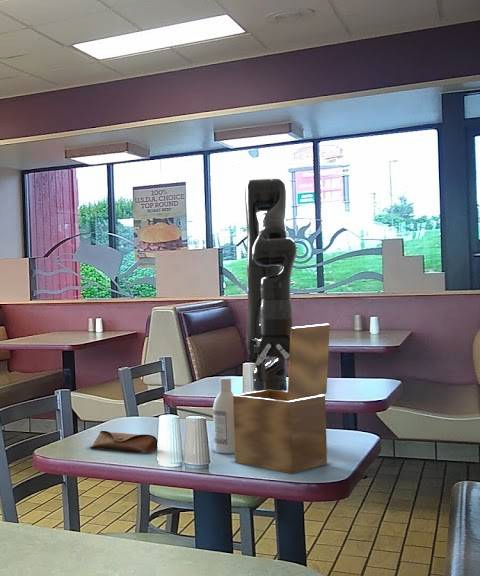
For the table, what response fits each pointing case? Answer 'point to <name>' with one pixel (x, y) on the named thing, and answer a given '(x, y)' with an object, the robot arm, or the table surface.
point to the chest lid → (308, 361)
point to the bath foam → (224, 419)
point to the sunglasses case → (125, 442)
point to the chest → (280, 431)
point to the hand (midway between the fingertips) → (278, 380)
